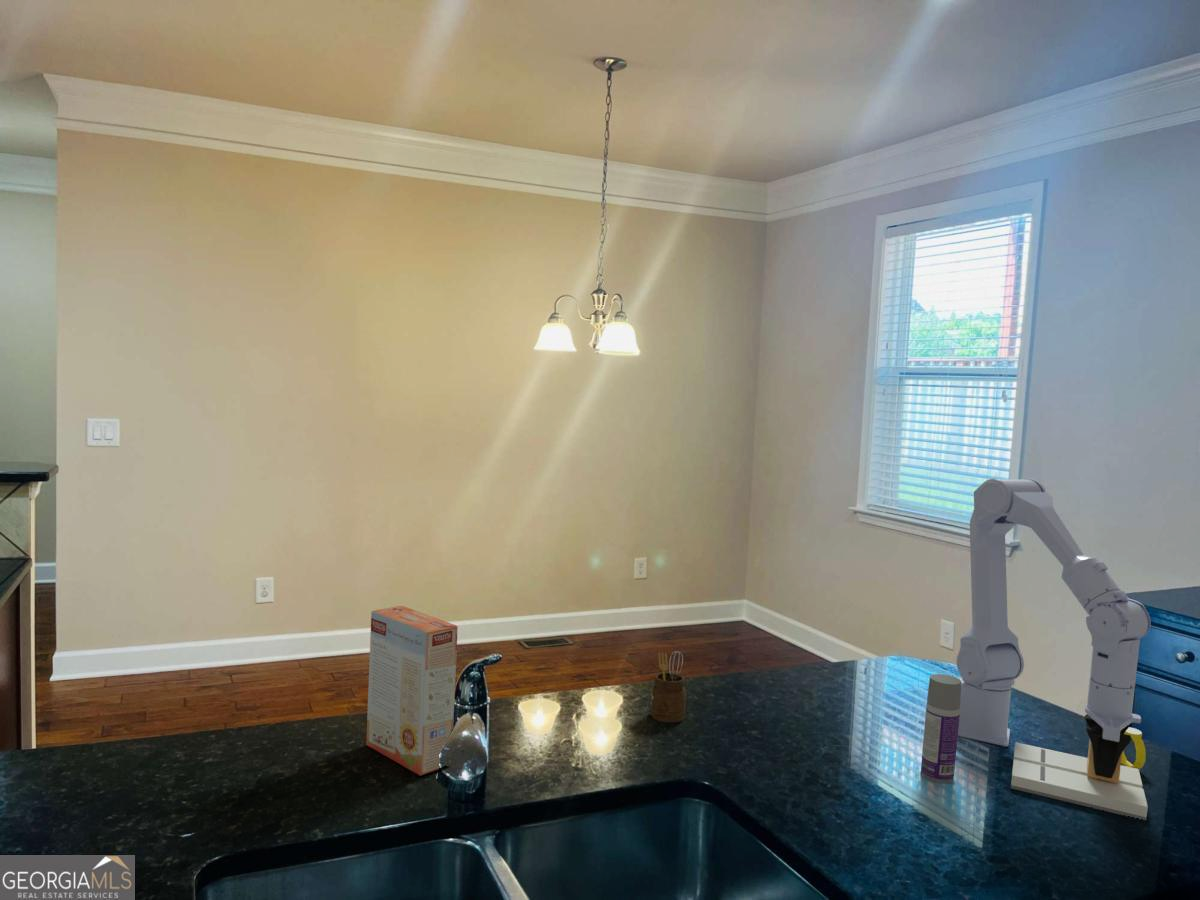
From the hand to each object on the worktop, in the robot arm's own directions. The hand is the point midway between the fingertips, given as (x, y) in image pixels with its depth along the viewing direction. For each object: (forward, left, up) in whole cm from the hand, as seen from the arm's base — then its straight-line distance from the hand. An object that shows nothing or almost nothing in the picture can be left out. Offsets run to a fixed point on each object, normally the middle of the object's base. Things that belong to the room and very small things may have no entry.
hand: (1102, 771), depth 127 cm
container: (-22, -9, -3) cm, 24 cm away
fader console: (-3, 0, -3) cm, 4 cm away
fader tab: (0, 0, -3) cm, 3 cm away
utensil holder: (-65, -12, -3) cm, 66 cm away
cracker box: (-91, -48, -3) cm, 103 cm away
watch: (+4, +13, -3) cm, 14 cm away
